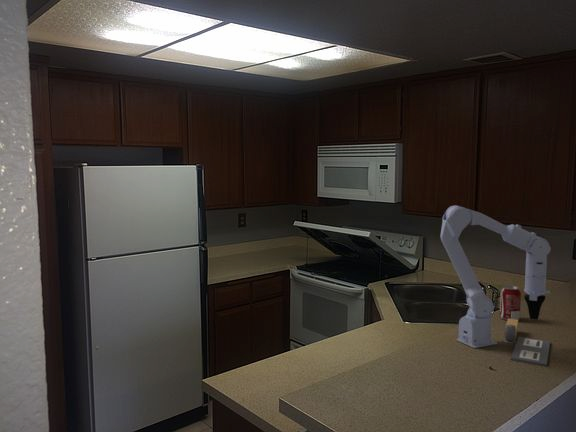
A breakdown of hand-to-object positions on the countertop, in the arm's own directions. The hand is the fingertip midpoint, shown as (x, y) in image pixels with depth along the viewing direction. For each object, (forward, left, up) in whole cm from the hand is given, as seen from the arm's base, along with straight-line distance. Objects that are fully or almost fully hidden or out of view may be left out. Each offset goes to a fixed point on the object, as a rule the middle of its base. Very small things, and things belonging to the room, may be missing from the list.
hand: (534, 318), depth 148 cm
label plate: (-5, -3, -8) cm, 10 cm away
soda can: (+16, +24, -9) cm, 30 cm away
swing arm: (+1, +9, -8) cm, 12 cm away
